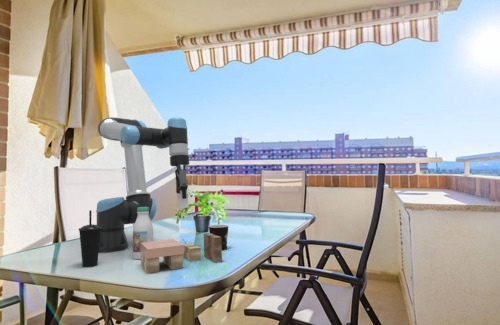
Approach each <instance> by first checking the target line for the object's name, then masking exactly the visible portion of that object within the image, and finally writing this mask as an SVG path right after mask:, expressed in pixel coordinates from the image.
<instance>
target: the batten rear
mask: <svg viewBox="0 0 500 325" xmlns="http://www.w3.org/2000/svg"><path fill="white" fill-rule="evenodd" d="M140 266H141V269H143V270H144V272H145V273H146V274H152V273H158V272H160V257H157V258H149V259H147V257H146V256H145V255H144V254H143V253H142V252H141V259H140Z"/></svg>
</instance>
